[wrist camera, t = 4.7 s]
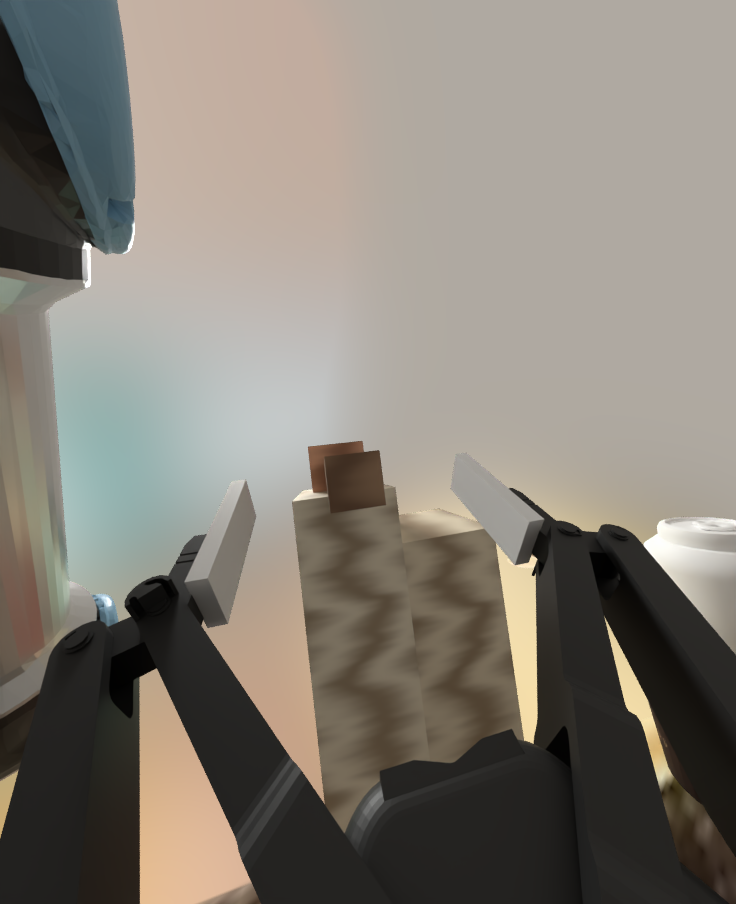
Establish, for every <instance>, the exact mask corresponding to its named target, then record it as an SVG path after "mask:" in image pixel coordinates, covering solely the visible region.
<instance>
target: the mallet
mask: <svg viewBox="0 0 736 904" xmlns="http://www.w3.org/2000/svg"><path fill="white" fill-rule="evenodd" d="M308 452H309V461H310V470H311V479H312V488H313V493H316V492H324V491H327V493H328V500H329V506H330V512H331V513H338V512H344V511H351V510H358V509H364V508H371V507H377V506H384V505H386V499H385V491H384V484H383V475H382V469H381V468H382V467H381V460H380V452H379V450H377V451H369V452H364V450H363V442H362V441H357V442H349V443H338V444H329V445H320V446H310V447H308Z"/></svg>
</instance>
